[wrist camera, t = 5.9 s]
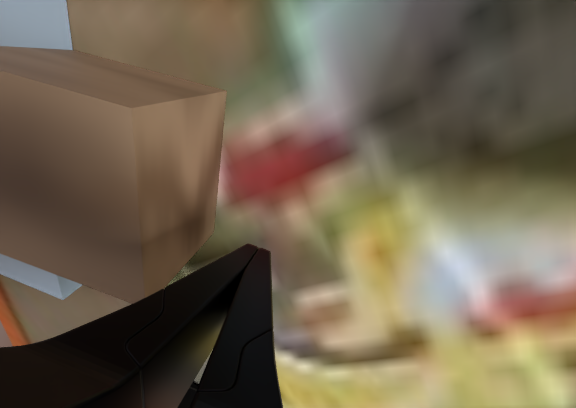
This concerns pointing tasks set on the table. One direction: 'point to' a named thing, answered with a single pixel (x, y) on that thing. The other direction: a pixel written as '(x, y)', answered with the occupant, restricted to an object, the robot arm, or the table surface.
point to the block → (105, 168)
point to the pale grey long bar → (50, 35)
